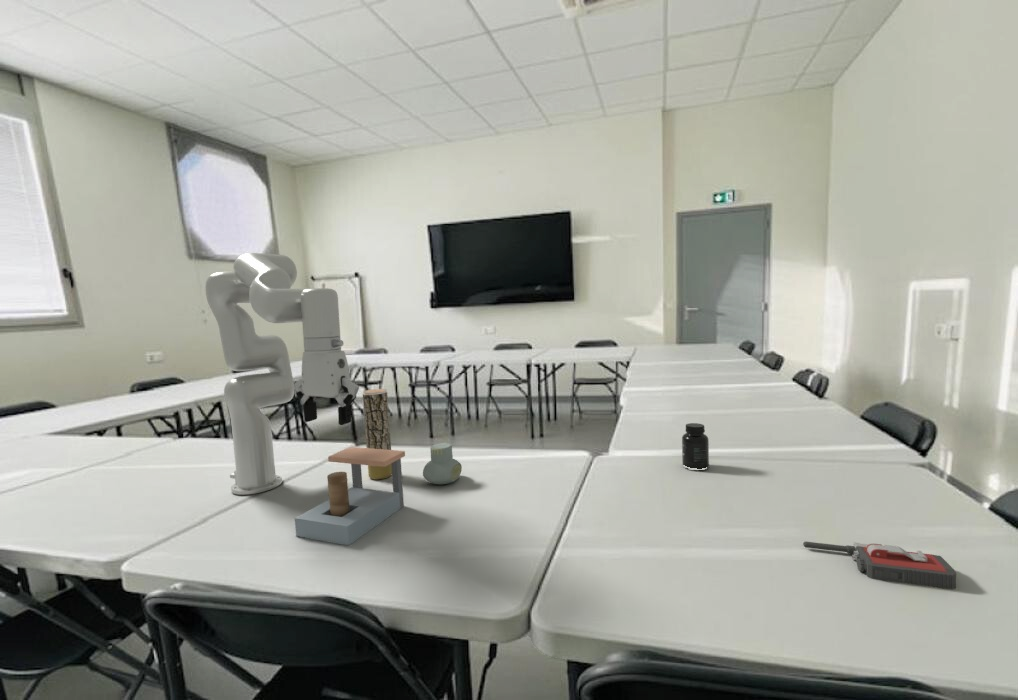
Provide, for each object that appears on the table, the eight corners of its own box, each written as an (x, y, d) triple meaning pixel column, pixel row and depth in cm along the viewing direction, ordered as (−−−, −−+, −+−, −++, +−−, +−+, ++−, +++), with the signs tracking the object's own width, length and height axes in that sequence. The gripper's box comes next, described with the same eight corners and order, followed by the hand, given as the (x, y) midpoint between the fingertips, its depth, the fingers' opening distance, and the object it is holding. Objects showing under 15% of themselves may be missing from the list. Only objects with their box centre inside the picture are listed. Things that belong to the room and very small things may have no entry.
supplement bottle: (680, 463, 133) (679, 422, 132) (705, 463, 132) (704, 421, 131) (685, 471, 126) (684, 428, 125) (712, 471, 125) (711, 428, 124)
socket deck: (292, 535, 99) (287, 473, 98) (355, 499, 118) (351, 446, 117) (352, 546, 94) (347, 480, 92) (408, 505, 112) (404, 451, 111)
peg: (340, 522, 105) (336, 471, 104) (354, 524, 103) (350, 472, 102) (327, 530, 101) (323, 477, 100) (342, 533, 99) (337, 478, 98)
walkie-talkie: (939, 564, 78) (801, 548, 86) (939, 539, 78) (801, 525, 85) (968, 595, 70) (813, 574, 77) (969, 567, 70) (813, 548, 77)
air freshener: (447, 489, 121) (445, 452, 121) (420, 487, 124) (417, 450, 123) (465, 475, 132) (463, 441, 131) (439, 473, 134) (437, 439, 134)
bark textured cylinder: (386, 480, 130) (380, 393, 128) (364, 480, 132) (357, 393, 130) (396, 472, 137) (391, 388, 135) (375, 471, 138) (369, 389, 136)
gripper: (366, 344, 101) (370, 420, 103) (305, 343, 108) (310, 415, 109) (342, 347, 94) (347, 429, 96) (279, 346, 101) (284, 423, 102)
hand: (327, 422), depth 103 cm, fingers open, 9 cm apart
